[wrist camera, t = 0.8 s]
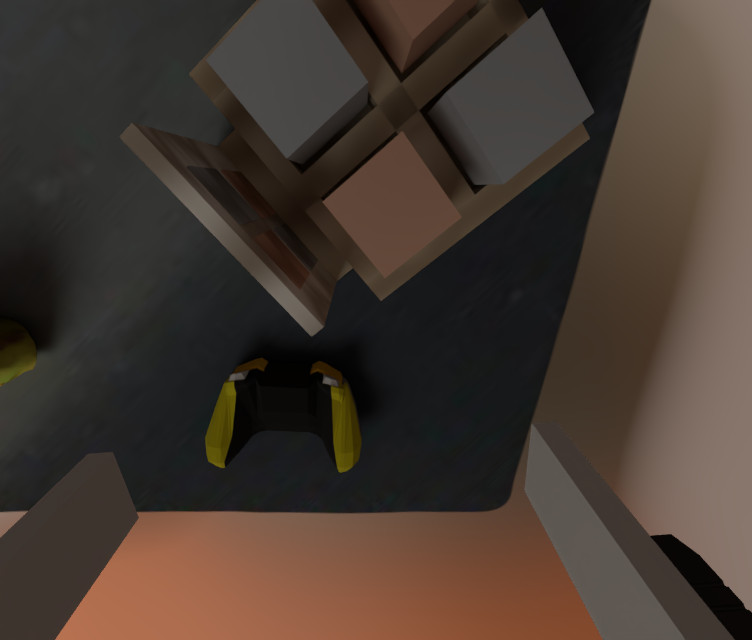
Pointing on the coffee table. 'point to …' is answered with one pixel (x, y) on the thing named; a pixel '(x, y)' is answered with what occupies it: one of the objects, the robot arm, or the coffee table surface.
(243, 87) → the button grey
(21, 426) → the coffee table surface
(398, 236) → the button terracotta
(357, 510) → the coffee table surface
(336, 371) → the gaming controller
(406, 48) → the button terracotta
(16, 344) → the bottle
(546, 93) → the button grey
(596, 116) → the coffee table surface
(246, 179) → the button board
